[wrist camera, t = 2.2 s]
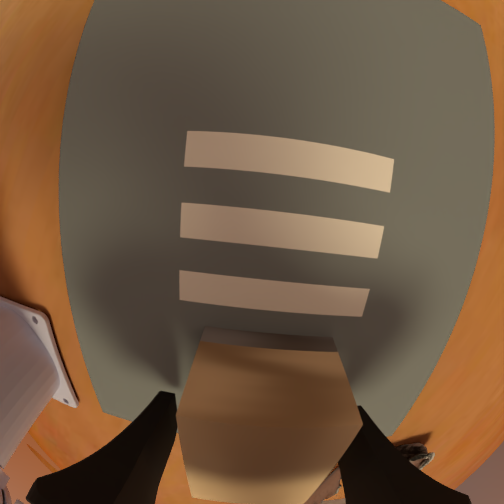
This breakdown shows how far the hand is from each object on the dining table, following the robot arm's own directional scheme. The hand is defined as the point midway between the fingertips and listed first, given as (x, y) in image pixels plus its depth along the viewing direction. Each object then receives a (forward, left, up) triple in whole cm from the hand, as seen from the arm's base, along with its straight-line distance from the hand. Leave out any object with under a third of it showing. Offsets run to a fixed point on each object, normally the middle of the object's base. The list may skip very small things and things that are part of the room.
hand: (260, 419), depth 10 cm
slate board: (0, +7, -3) cm, 8 cm away
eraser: (0, 0, -2) cm, 2 cm away
